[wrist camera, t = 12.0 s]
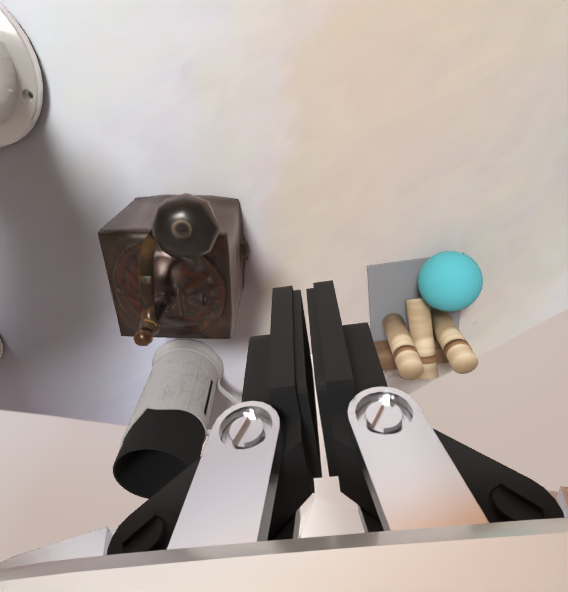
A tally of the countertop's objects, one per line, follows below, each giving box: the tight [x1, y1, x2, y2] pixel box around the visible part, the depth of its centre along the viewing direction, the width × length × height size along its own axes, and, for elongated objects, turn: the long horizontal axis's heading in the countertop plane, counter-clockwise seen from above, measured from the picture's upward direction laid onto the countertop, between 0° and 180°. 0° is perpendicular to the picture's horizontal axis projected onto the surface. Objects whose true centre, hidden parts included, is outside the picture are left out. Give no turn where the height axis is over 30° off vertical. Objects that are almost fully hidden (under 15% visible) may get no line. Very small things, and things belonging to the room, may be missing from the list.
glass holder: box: [113, 339, 241, 499], centre depth 44 cm, size 9×14×15 cm, turn 83°
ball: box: [418, 251, 483, 311], centre depth 40 cm, size 6×6×6 cm
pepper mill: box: [98, 193, 248, 346], centre depth 33 cm, size 16×11×18 cm
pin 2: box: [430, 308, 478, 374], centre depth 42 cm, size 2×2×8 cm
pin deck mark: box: [367, 253, 464, 342], centre depth 45 cm, size 10×10×1 cm
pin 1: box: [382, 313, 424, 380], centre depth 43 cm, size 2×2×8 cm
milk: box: [298, 354, 365, 538], centre depth 41 cm, size 6×6×22 cm
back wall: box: [374, 334, 449, 370], centre depth 47 cm, size 2×9×3 cm, turn 99°
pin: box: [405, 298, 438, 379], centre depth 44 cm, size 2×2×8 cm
